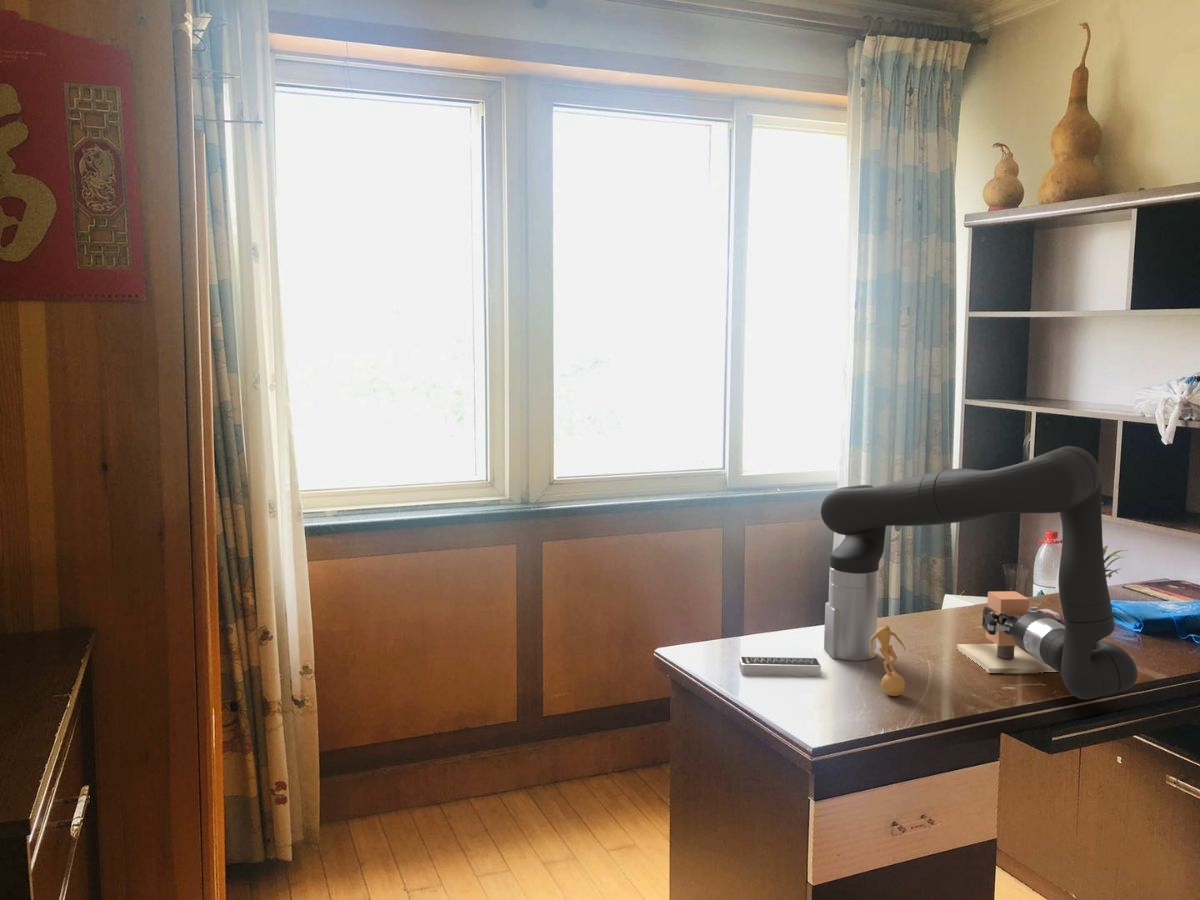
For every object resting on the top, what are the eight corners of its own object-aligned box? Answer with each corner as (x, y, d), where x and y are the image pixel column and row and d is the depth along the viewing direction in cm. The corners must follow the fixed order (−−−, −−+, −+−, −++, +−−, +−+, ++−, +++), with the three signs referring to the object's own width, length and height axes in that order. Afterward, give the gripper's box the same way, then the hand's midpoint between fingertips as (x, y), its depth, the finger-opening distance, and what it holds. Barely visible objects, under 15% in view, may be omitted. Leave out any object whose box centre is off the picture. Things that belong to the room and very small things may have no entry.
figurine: (884, 703, 160) (887, 635, 159) (858, 692, 165) (860, 625, 164) (918, 694, 164) (921, 627, 163) (891, 683, 169) (894, 618, 168)
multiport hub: (820, 677, 173) (821, 665, 173) (741, 676, 174) (741, 664, 174) (816, 669, 178) (816, 657, 177) (739, 668, 178) (739, 656, 178)
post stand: (988, 673, 175) (991, 615, 173) (956, 649, 188) (959, 595, 187) (1104, 672, 175) (1108, 614, 174) (1064, 647, 189) (1067, 594, 188)
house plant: (1144, 618, 210) (1149, 546, 208) (1097, 624, 205) (1102, 550, 203) (1091, 601, 223) (1096, 533, 221) (1046, 607, 218) (1050, 537, 216)
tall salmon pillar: (998, 645, 178) (1001, 599, 177) (985, 636, 183) (988, 591, 182) (1026, 645, 178) (1029, 599, 177) (1012, 636, 183) (1015, 591, 182)
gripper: (1087, 618, 165) (1038, 592, 182) (1006, 619, 165) (965, 593, 182) (1084, 659, 166) (1035, 630, 183) (1004, 660, 166) (963, 630, 183)
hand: (1000, 611), depth 182 cm, fingers closed on tall salmon pillar, 5 cm apart
